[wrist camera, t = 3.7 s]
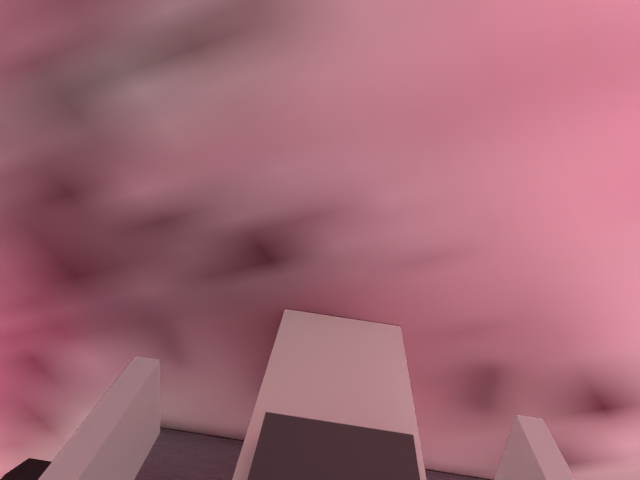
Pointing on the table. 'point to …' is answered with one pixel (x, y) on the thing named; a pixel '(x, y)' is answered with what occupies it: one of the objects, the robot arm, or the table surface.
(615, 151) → the table surface
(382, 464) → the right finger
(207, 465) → the grey and white block
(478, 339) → the table surface
